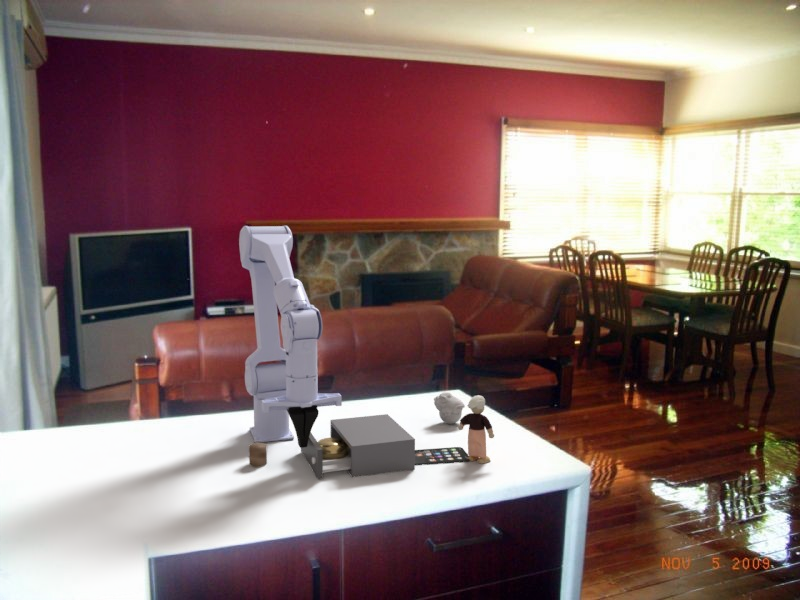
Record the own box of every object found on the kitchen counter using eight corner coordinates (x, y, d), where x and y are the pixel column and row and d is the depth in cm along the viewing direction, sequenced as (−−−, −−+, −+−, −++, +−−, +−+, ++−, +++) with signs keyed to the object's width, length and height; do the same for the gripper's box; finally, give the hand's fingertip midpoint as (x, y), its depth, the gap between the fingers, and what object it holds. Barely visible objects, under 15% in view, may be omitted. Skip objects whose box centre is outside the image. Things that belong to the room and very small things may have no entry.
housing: (330, 447, 139) (330, 419, 138) (387, 441, 143) (387, 414, 142) (352, 477, 124) (352, 446, 123) (414, 469, 128) (414, 439, 127)
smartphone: (388, 451, 136) (461, 446, 139) (388, 454, 136) (461, 449, 139) (395, 465, 129) (472, 459, 132) (395, 469, 129) (472, 463, 132)
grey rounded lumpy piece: (435, 418, 159) (435, 388, 158) (466, 420, 157) (466, 390, 156) (431, 426, 153) (431, 395, 152) (463, 428, 151) (463, 397, 150)
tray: (298, 451, 136) (298, 424, 135) (358, 444, 140) (358, 418, 139) (314, 479, 122) (314, 450, 121) (380, 471, 126) (381, 442, 126)
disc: (315, 450, 132) (315, 439, 132) (343, 448, 134) (343, 436, 134) (320, 461, 127) (320, 448, 127) (350, 458, 129) (350, 445, 128)
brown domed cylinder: (248, 461, 131) (248, 443, 131) (265, 459, 132) (265, 442, 132) (250, 467, 128) (250, 449, 128) (268, 465, 129) (267, 447, 129)
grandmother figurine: (497, 459, 133) (499, 395, 131) (491, 465, 130) (493, 400, 128) (460, 452, 136) (461, 390, 135) (453, 459, 133) (454, 395, 131)
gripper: (265, 382, 120) (266, 457, 122) (345, 376, 125) (346, 448, 127) (259, 373, 127) (261, 444, 129) (336, 367, 132) (336, 436, 134)
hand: (302, 445), depth 128 cm, fingers closed
